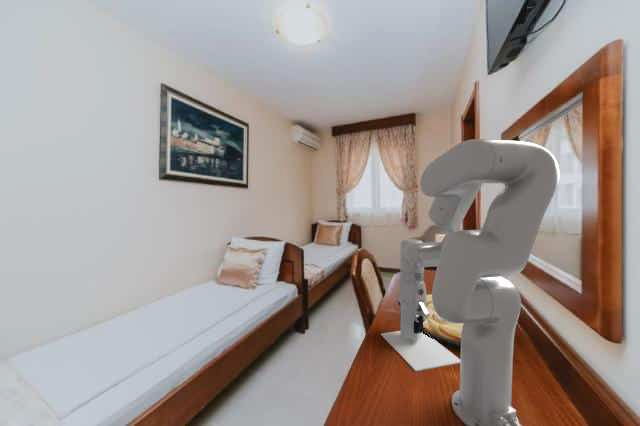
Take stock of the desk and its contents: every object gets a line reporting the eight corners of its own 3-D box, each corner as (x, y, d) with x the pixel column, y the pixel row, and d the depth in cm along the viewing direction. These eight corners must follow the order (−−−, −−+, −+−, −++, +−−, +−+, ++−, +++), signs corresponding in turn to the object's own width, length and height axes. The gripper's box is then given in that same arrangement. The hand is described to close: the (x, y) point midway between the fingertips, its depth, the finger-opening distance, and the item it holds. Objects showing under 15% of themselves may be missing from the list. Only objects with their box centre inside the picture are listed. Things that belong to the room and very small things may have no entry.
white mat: (462, 362, 73) (462, 361, 73) (415, 371, 69) (415, 370, 69) (419, 329, 92) (419, 328, 92) (380, 334, 88) (380, 333, 88)
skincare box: (422, 336, 84) (422, 302, 83) (417, 342, 81) (417, 306, 80) (405, 330, 88) (405, 297, 87) (399, 335, 85) (400, 301, 84)
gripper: (439, 282, 76) (438, 339, 77) (406, 268, 93) (405, 314, 93) (418, 284, 74) (417, 342, 75) (388, 269, 91) (388, 316, 92)
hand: (411, 326), depth 84 cm, fingers closed on skincare box, 7 cm apart
